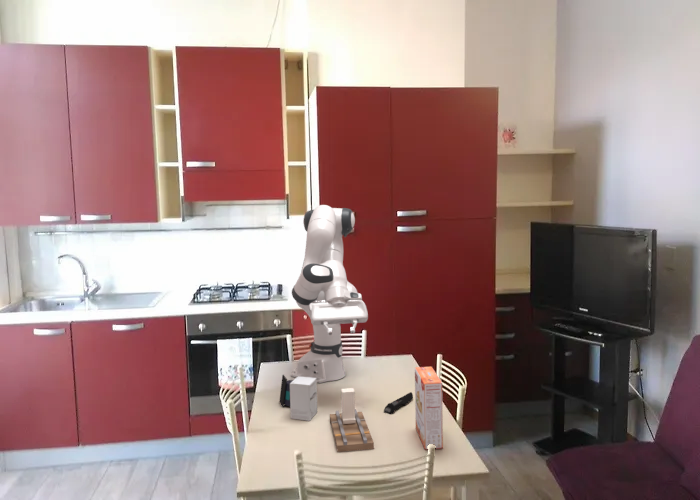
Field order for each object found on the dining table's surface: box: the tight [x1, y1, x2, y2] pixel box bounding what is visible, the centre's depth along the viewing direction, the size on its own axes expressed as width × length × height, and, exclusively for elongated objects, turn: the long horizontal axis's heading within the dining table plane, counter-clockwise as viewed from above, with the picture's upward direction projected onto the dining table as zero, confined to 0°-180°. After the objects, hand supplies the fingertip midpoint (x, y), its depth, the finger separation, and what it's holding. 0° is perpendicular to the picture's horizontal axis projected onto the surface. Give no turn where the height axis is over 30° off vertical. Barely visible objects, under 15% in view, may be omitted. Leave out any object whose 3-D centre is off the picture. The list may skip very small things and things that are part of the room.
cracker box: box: [414, 366, 444, 451], centre depth 163 cm, size 14×6×21 cm, turn 4°
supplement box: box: [289, 376, 318, 422], centre depth 182 cm, size 7×7×13 cm
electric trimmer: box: [383, 391, 414, 415], centre depth 189 cm, size 4×16×3 cm, turn 141°
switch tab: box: [340, 387, 356, 424], centre depth 172 cm, size 5×4×10 cm
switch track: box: [329, 408, 375, 453], centre depth 169 cm, size 22×11×3 cm, turn 8°
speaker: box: [278, 374, 294, 408], centre depth 191 cm, size 8×6×10 cm
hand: (341, 333), depth 184 cm, fingers open, 7 cm apart
